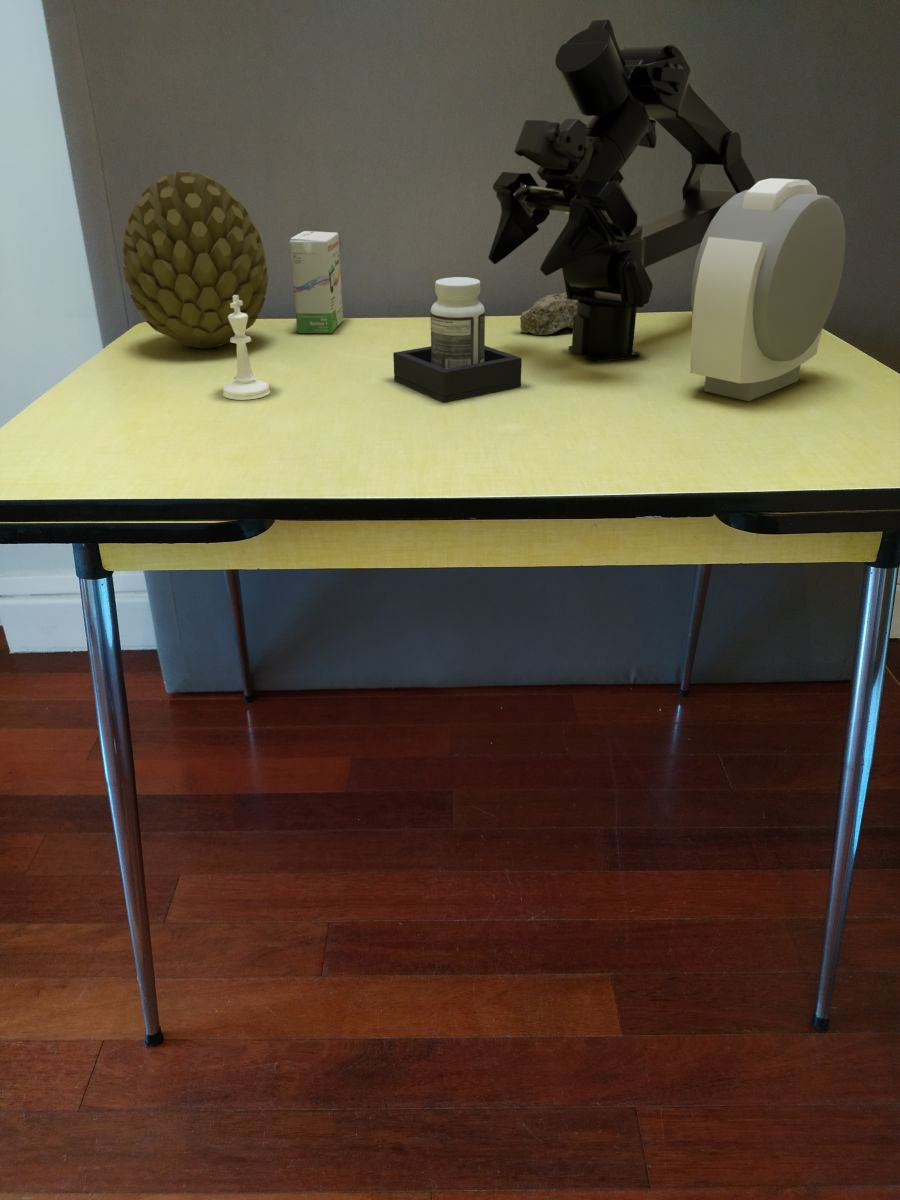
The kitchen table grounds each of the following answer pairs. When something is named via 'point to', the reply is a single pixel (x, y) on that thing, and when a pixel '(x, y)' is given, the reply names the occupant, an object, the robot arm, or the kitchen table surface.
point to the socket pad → (457, 374)
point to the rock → (549, 315)
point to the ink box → (316, 281)
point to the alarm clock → (764, 287)
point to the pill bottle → (457, 323)
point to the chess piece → (243, 360)
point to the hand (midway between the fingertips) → (516, 266)
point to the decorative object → (193, 259)
